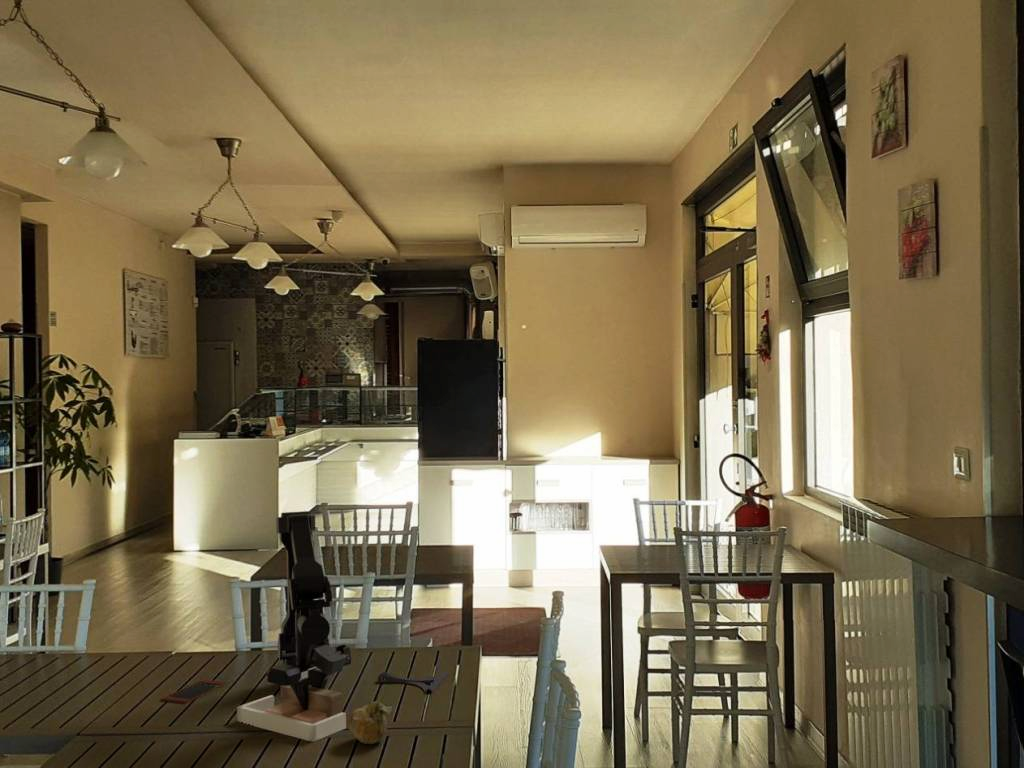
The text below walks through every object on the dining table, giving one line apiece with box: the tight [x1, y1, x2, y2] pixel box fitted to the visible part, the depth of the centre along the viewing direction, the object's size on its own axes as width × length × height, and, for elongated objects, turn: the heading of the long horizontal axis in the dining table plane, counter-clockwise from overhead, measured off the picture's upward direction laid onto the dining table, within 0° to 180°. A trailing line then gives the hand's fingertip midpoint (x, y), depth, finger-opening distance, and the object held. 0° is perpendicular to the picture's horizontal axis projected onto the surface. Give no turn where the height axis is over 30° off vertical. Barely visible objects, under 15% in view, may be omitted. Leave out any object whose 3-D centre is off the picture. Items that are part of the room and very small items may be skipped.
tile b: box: [291, 709, 327, 724], centre depth 204 cm, size 5×5×2 cm
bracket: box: [377, 669, 449, 694], centre depth 232 cm, size 14×15×3 cm
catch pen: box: [236, 694, 347, 743], centre depth 205 cm, size 22×9×3 cm, turn 55°
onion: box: [347, 701, 394, 745], centre depth 194 cm, size 8×8×8 cm
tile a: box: [265, 702, 300, 718], centre depth 208 cm, size 5×5×2 cm
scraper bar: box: [280, 685, 344, 718], centre depth 209 cm, size 15×3×5 cm, turn 55°
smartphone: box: [160, 679, 229, 704], centre depth 228 cm, size 7×1×15 cm
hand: (311, 707), depth 209 cm, fingers closed on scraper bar, 3 cm apart
